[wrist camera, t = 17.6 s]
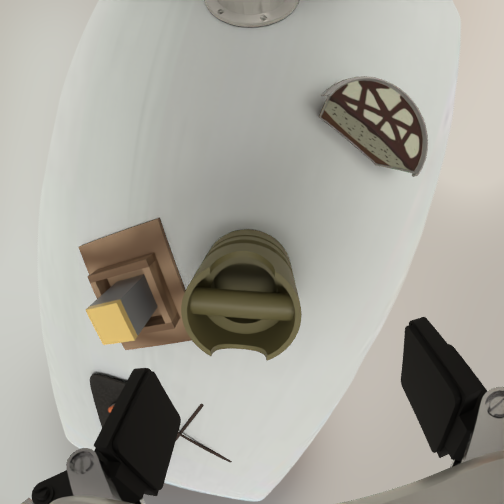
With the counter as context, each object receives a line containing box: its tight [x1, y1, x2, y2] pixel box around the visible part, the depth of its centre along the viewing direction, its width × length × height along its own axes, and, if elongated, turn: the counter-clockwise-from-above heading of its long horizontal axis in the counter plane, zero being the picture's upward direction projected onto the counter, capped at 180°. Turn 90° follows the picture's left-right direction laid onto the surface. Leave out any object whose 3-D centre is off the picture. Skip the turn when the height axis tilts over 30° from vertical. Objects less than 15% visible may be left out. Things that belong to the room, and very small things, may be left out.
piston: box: [181, 229, 301, 360], centre depth 33 cm, size 11×12×11 cm
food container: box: [319, 76, 428, 177], centre depth 27 cm, size 12×6×10 cm, turn 54°
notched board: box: [79, 218, 191, 350], centre depth 38 cm, size 18×14×4 cm
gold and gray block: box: [86, 274, 158, 345], centre depth 35 cm, size 5×5×9 cm
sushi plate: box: [90, 374, 232, 462], centre depth 49 cm, size 29×30×4 cm
